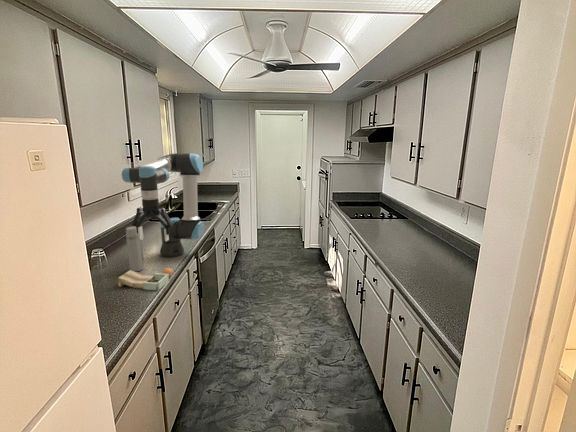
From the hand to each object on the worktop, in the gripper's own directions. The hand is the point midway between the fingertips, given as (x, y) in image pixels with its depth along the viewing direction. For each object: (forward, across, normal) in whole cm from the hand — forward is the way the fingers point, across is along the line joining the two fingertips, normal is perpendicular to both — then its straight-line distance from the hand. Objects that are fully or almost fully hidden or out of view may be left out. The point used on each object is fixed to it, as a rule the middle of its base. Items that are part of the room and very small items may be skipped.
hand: (154, 240), depth 162 cm
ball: (+24, 0, +9) cm, 26 cm away
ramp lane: (+24, -11, -1) cm, 27 cm away
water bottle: (+24, -21, +16) cm, 36 cm away
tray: (+24, 0, -1) cm, 24 cm away
